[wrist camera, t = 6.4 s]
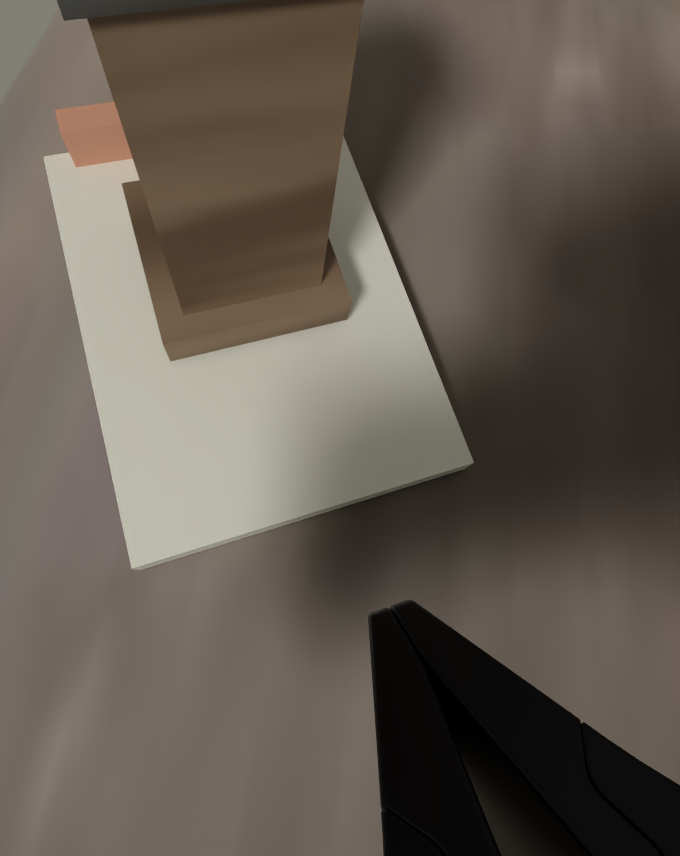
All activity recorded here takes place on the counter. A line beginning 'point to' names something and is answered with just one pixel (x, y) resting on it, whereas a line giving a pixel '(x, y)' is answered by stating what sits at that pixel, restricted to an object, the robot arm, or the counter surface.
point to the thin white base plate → (243, 376)
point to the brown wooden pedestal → (231, 158)
